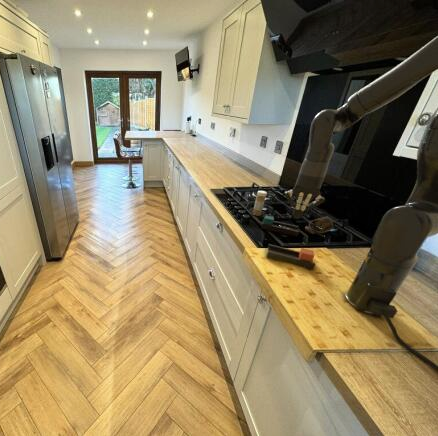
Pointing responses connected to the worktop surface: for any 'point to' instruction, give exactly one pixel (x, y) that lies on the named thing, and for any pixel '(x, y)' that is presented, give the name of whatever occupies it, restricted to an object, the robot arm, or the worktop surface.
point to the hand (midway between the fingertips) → (296, 218)
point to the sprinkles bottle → (259, 202)
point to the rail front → (288, 256)
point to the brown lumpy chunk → (320, 225)
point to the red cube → (306, 255)
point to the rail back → (281, 228)
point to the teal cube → (268, 220)
